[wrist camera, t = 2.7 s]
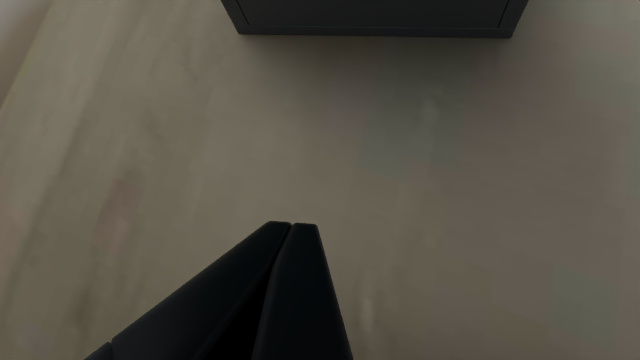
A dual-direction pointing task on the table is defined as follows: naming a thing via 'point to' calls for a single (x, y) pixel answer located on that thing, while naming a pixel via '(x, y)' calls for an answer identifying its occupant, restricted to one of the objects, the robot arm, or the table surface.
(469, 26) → the tray
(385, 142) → the table surface
